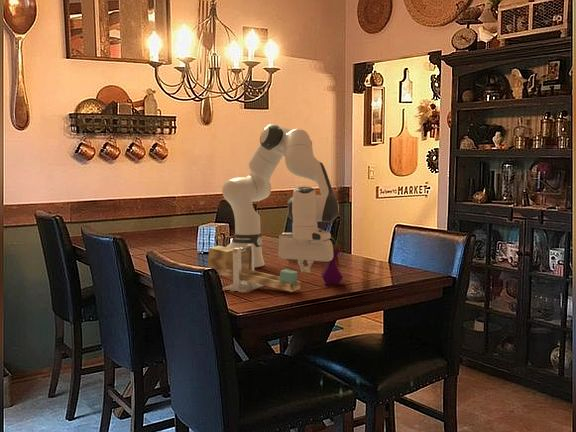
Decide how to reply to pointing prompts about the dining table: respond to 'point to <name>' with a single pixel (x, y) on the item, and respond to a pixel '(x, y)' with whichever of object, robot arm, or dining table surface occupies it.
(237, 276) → the stand
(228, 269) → the beam
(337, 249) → the purple vase
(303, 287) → the dining table surface
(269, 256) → the dining table surface
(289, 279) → the block
